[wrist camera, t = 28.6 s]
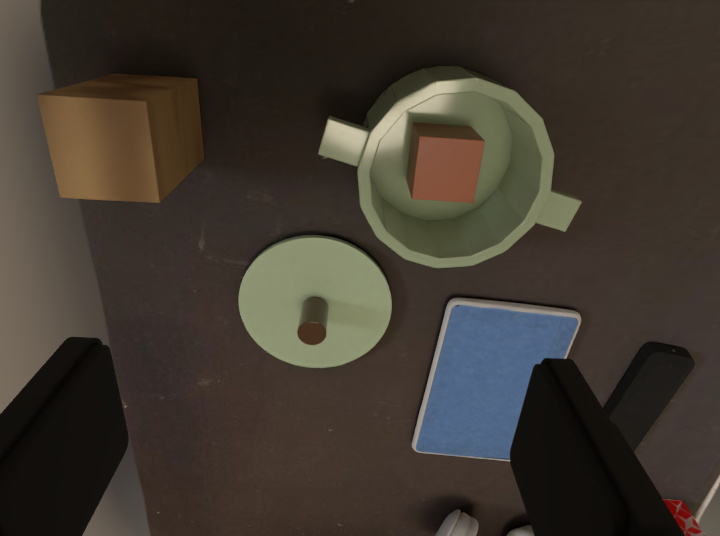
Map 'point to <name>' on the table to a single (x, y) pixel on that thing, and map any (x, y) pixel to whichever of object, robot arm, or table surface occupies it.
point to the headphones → (471, 526)
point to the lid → (315, 301)
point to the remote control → (647, 389)
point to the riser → (123, 136)
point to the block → (444, 162)
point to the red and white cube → (684, 517)
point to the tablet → (486, 374)
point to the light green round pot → (496, 176)
